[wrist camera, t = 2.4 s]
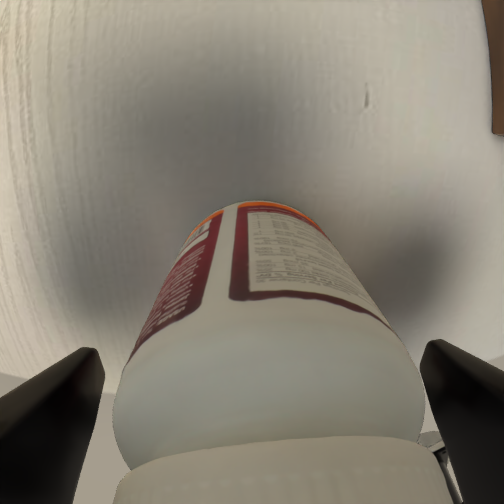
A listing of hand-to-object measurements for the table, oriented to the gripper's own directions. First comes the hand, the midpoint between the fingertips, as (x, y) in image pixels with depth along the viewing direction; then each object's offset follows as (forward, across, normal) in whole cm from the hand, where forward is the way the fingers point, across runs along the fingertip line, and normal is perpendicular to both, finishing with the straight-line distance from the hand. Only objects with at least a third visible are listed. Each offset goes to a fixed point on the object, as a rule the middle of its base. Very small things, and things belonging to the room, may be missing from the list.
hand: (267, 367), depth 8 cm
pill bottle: (+6, 0, 0) cm, 6 cm away
